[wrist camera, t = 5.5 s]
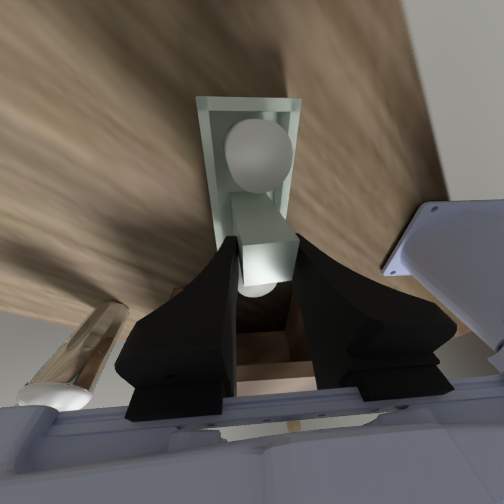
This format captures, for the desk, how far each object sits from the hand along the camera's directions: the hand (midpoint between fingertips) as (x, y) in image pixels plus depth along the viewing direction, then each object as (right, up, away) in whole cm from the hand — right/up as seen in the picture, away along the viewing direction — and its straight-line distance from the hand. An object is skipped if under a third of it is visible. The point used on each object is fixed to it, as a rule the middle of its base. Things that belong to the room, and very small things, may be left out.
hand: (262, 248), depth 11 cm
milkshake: (-17, -7, +10) cm, 21 cm away
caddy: (-1, +3, +2) cm, 4 cm away
